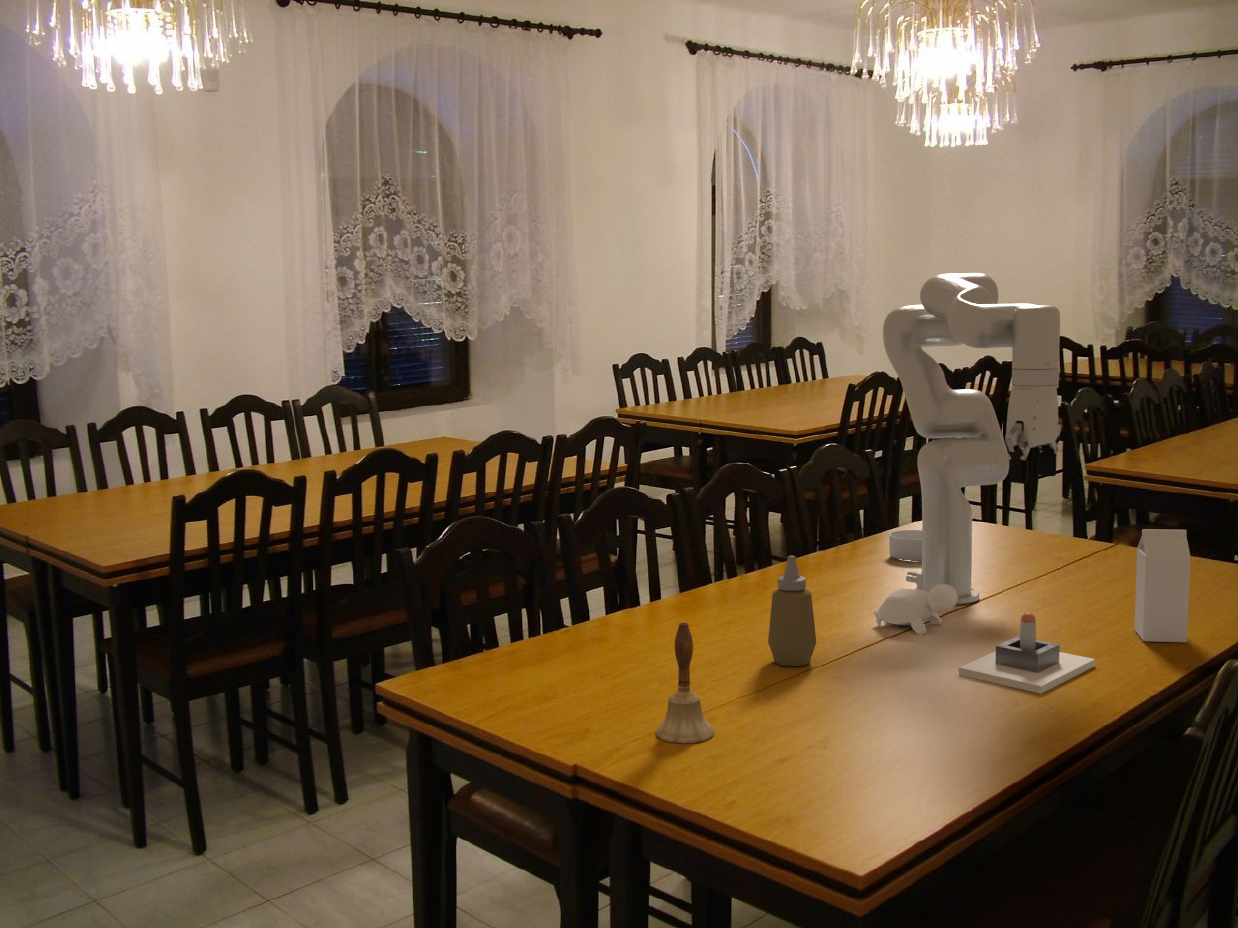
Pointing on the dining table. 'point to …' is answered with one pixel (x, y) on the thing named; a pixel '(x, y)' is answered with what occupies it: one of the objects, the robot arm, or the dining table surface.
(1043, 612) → the dining table surface
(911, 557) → the saucepan
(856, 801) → the dining table surface
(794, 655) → the squeeze bottle
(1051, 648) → the grey square socket block
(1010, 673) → the white peg stand
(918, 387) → the robot arm
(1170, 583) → the milk carton
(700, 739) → the hand bell
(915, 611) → the white turtle figurine
